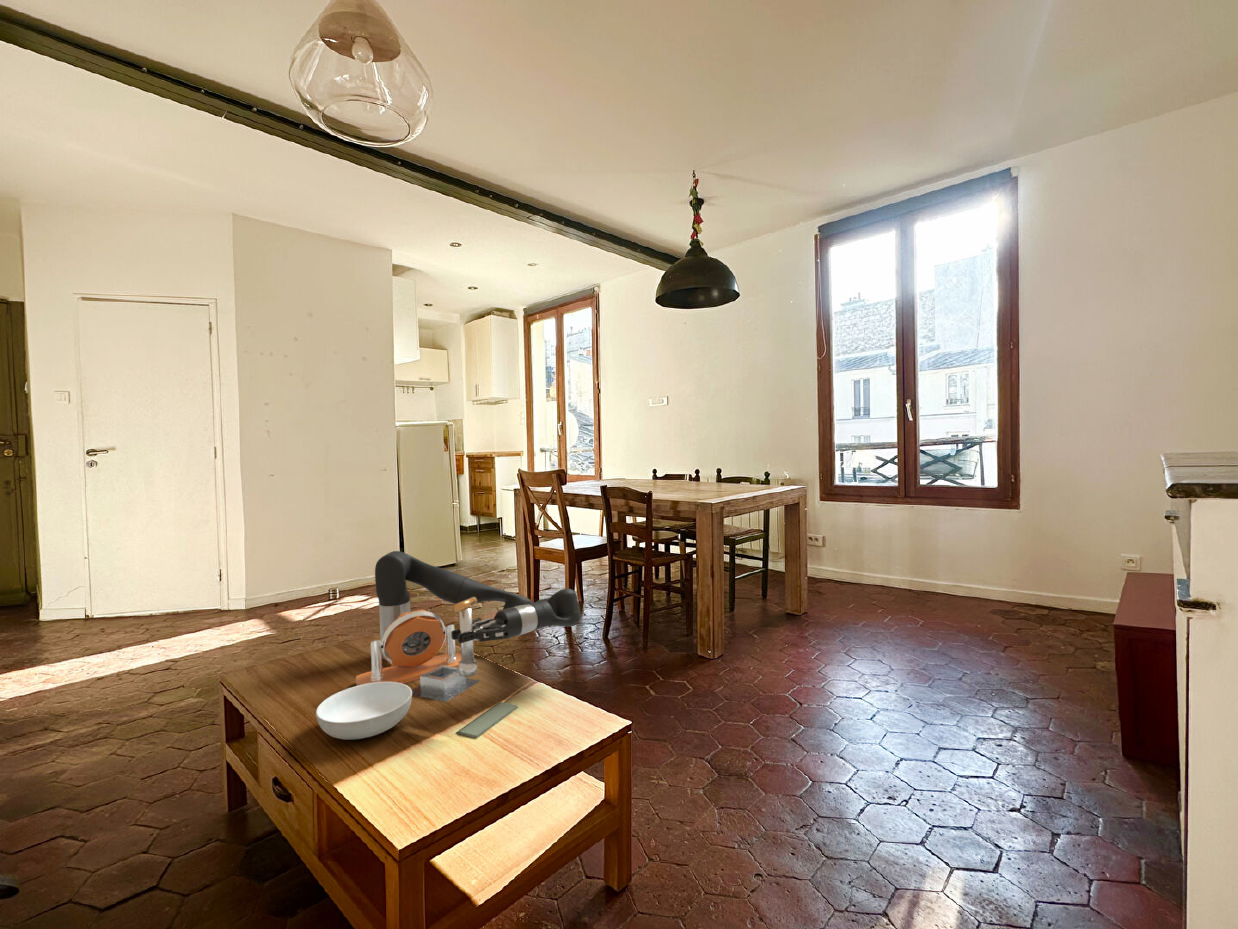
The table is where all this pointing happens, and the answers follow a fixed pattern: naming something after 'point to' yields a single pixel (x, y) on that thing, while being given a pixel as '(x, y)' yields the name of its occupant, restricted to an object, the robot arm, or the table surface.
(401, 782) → the table surface
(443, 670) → the chuck block
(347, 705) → the serving bowl
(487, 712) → the rubber mat
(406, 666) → the desk clock
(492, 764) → the table surface
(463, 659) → the cylinder
